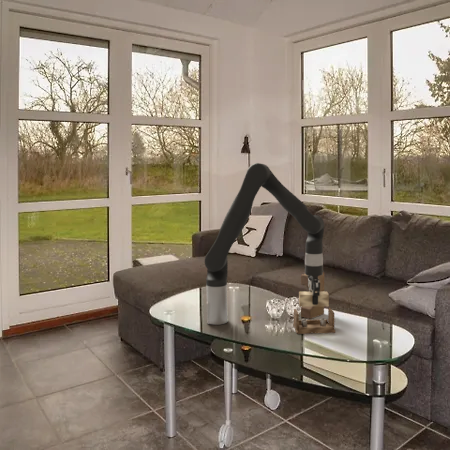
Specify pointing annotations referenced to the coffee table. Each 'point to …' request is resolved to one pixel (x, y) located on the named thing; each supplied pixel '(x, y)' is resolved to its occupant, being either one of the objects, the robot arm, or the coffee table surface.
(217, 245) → the robot arm
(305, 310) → the decorative block
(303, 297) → the plank
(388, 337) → the coffee table surface
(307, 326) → the peg frame
